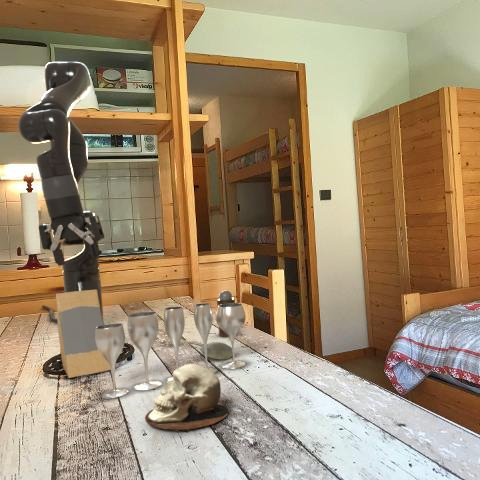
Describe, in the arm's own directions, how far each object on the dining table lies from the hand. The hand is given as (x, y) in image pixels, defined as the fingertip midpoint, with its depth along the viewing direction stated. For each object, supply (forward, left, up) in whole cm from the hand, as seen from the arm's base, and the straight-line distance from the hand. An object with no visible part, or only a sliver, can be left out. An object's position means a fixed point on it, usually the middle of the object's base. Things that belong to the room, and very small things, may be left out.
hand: (78, 262), depth 125 cm
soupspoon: (+21, +24, -21) cm, 38 cm away
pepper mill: (+9, +33, -21) cm, 40 cm away
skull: (+59, +17, -21) cm, 65 cm away
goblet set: (+39, +18, -21) cm, 48 cm away
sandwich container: (+19, +1, -21) cm, 28 cm away
